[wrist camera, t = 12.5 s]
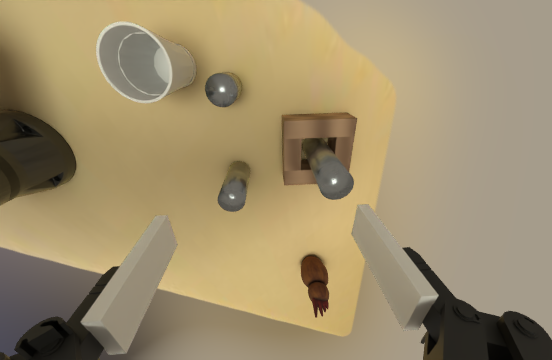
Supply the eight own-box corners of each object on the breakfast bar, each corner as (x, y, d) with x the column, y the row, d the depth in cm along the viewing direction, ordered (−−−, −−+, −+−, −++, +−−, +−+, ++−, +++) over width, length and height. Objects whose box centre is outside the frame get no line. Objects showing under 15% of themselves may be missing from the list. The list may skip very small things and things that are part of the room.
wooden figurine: (295, 261, 57) (303, 319, 44) (309, 249, 55) (323, 306, 42) (312, 271, 59) (325, 329, 46) (327, 260, 57) (345, 318, 44)
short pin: (218, 100, 36) (208, 107, 30) (214, 72, 34) (202, 74, 28) (243, 100, 37) (238, 106, 30) (240, 72, 34) (234, 72, 28)
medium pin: (230, 180, 44) (220, 212, 34) (227, 161, 42) (215, 189, 32) (251, 179, 44) (246, 211, 35) (249, 160, 42) (243, 188, 32)
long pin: (301, 155, 42) (318, 200, 28) (302, 134, 40) (321, 171, 26) (323, 155, 42) (351, 198, 28) (325, 133, 40) (356, 169, 26)
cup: (211, 74, 34) (187, 77, 24) (177, 102, 36) (140, 116, 26) (176, 24, 31) (129, 2, 21) (139, 57, 33) (79, 53, 22)
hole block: (282, 173, 44) (284, 185, 39) (281, 115, 38) (283, 121, 34) (339, 171, 44) (347, 182, 40) (346, 112, 38) (357, 118, 34)
